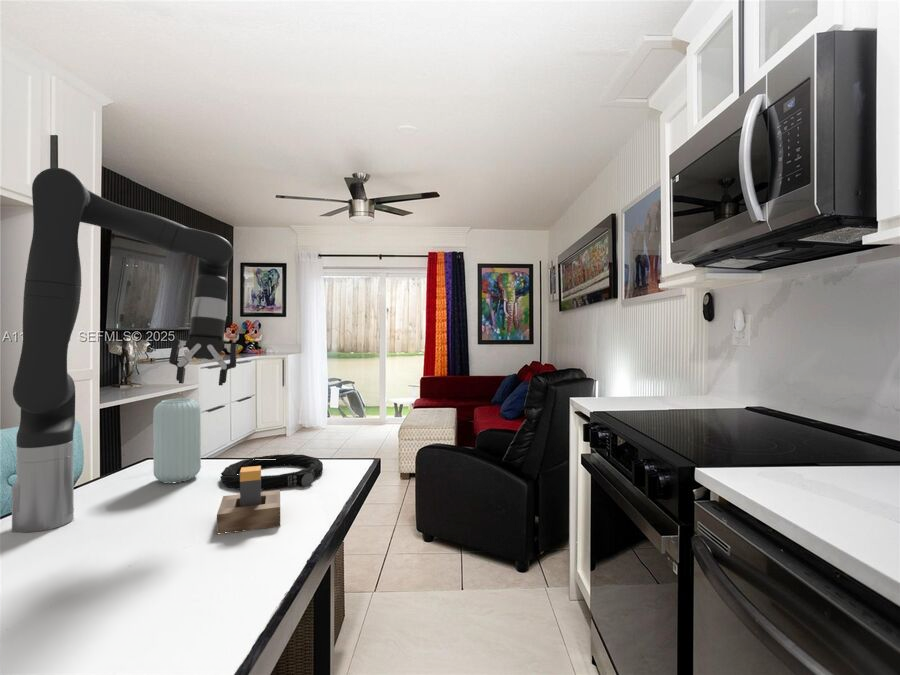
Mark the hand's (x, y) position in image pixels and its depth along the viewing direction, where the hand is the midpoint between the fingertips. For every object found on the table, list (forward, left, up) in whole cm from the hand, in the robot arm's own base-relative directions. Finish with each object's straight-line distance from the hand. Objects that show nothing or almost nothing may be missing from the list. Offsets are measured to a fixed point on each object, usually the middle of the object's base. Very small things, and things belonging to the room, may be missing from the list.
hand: (201, 384), depth 114 cm
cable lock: (+17, +17, -29) cm, 38 cm away
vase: (-9, +24, -29) cm, 39 cm away
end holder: (+12, -16, -28) cm, 35 cm away
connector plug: (+12, -16, -27) cm, 34 cm away
